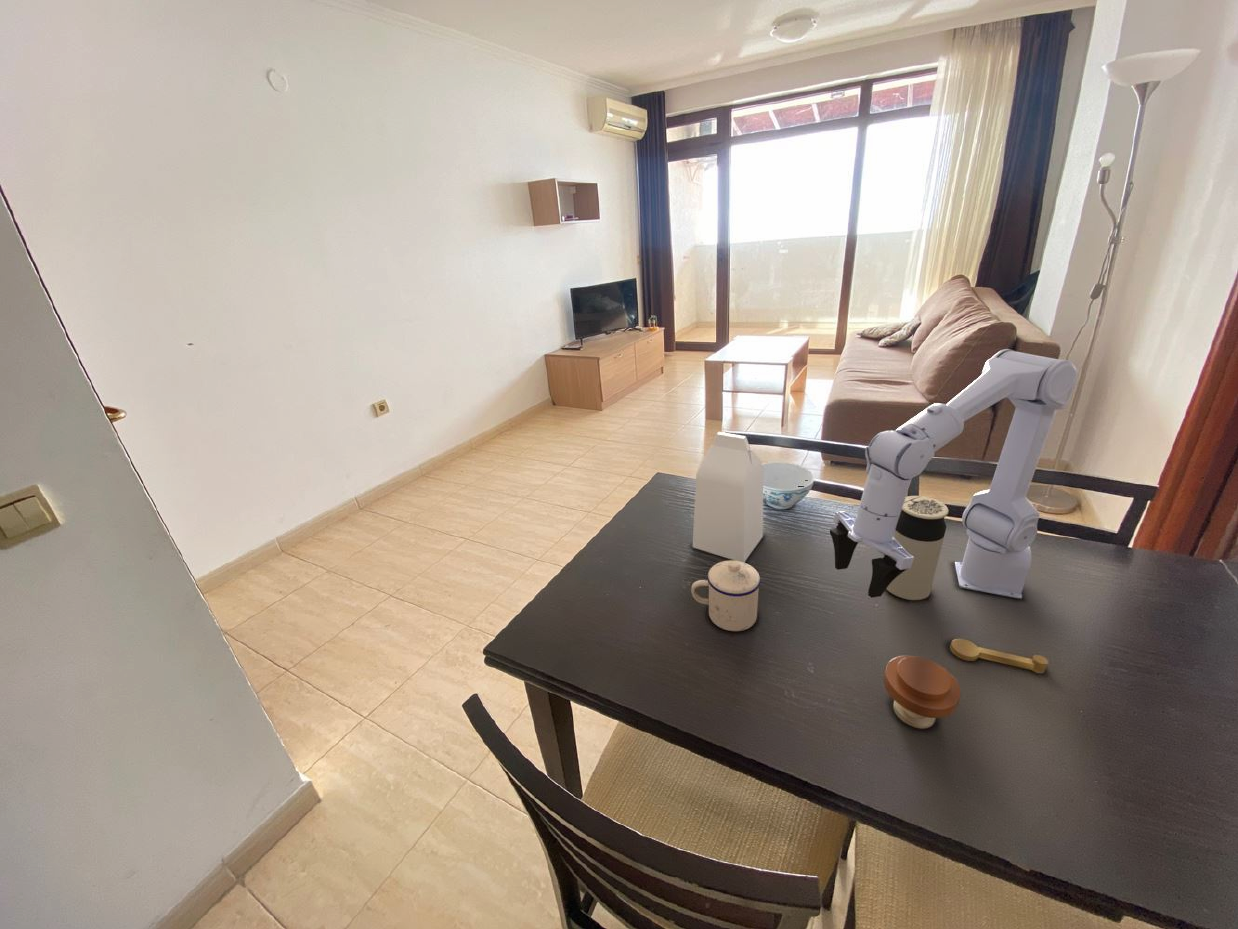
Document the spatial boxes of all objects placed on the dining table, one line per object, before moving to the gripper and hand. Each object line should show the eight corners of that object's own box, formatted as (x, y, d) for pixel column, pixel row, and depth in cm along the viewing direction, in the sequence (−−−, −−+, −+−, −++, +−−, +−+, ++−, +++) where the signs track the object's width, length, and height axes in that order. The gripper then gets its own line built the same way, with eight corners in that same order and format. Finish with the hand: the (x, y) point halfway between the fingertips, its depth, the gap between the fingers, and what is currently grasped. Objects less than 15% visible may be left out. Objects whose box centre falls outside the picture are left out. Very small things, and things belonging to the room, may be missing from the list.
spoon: (1040, 661, 78) (1044, 652, 77) (1047, 680, 75) (1051, 670, 74) (948, 640, 83) (951, 631, 82) (951, 657, 80) (954, 647, 79)
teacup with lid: (757, 600, 94) (760, 549, 89) (759, 635, 86) (762, 582, 81) (693, 595, 97) (692, 545, 92) (689, 629, 89) (688, 577, 84)
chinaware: (775, 524, 117) (777, 495, 114) (737, 497, 130) (738, 470, 126) (824, 507, 122) (828, 479, 119) (783, 483, 135) (785, 457, 131)
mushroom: (947, 697, 73) (958, 660, 70) (954, 751, 66) (967, 712, 63) (878, 678, 77) (886, 642, 74) (878, 728, 70) (887, 690, 66)
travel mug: (940, 595, 92) (961, 511, 84) (904, 606, 90) (923, 522, 83) (906, 570, 99) (923, 491, 91) (872, 579, 97) (887, 500, 90)
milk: (692, 547, 111) (691, 440, 100) (714, 522, 120) (715, 421, 108) (743, 563, 105) (748, 450, 94) (763, 536, 113) (769, 429, 102)
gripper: (827, 489, 82) (808, 559, 87) (897, 534, 69) (870, 613, 75) (861, 486, 84) (841, 555, 89) (935, 529, 72) (907, 606, 77)
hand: (857, 581), depth 82 cm, fingers open, 7 cm apart
